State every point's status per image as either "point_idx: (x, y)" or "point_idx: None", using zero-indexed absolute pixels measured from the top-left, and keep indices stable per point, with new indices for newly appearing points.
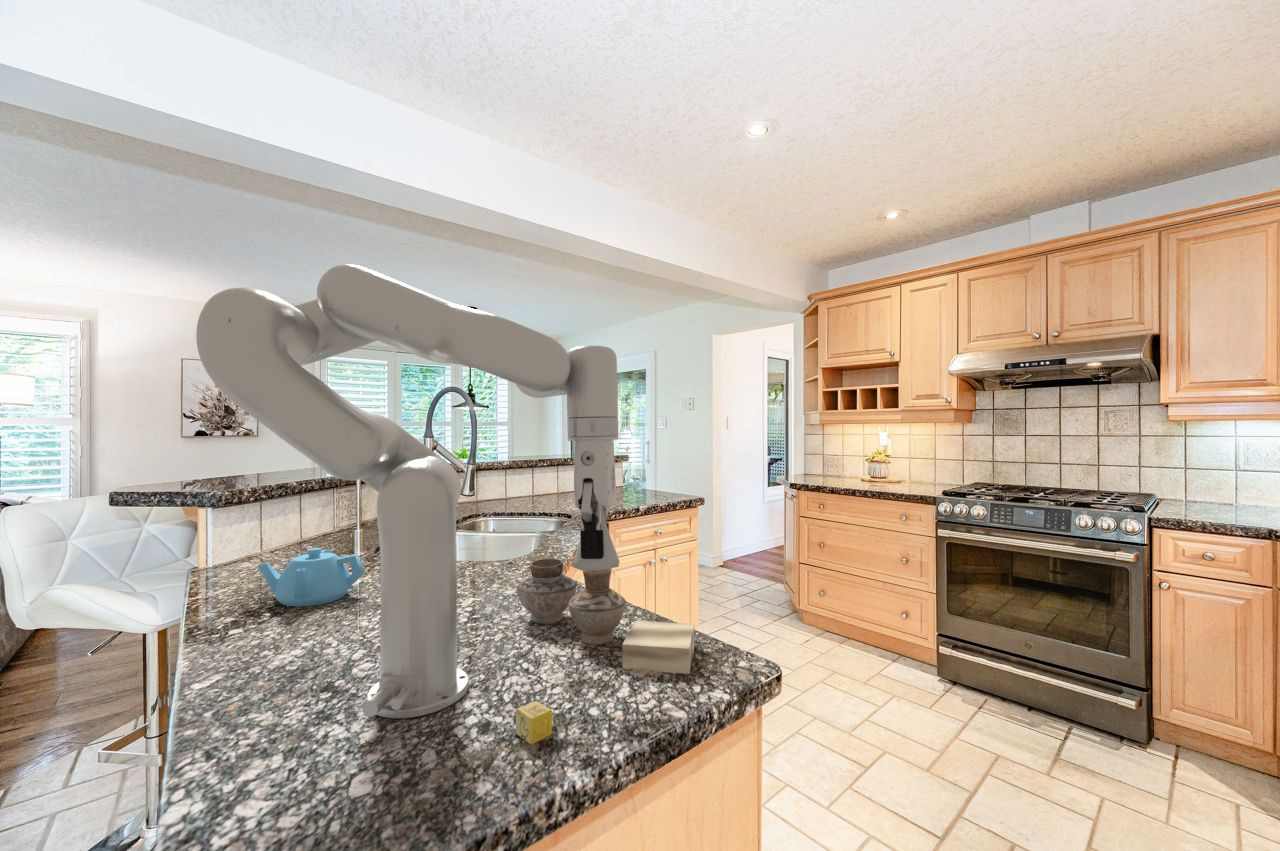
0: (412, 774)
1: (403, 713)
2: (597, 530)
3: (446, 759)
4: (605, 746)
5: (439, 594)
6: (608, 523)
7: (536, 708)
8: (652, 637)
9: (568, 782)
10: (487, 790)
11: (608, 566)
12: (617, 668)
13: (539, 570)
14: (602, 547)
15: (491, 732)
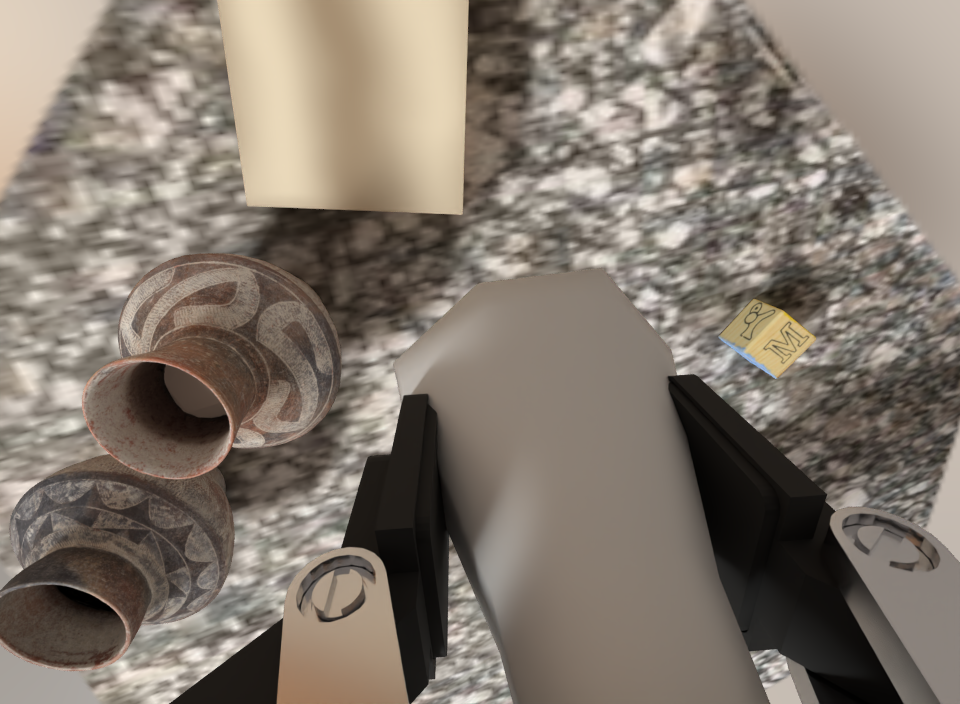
0: (833, 458)
1: None
2: (884, 533)
3: (804, 433)
4: (808, 180)
5: None
6: (395, 527)
7: (777, 342)
8: (390, 115)
9: (902, 225)
10: (893, 346)
11: (644, 323)
12: (461, 222)
13: (137, 618)
14: (725, 409)
15: (736, 400)
